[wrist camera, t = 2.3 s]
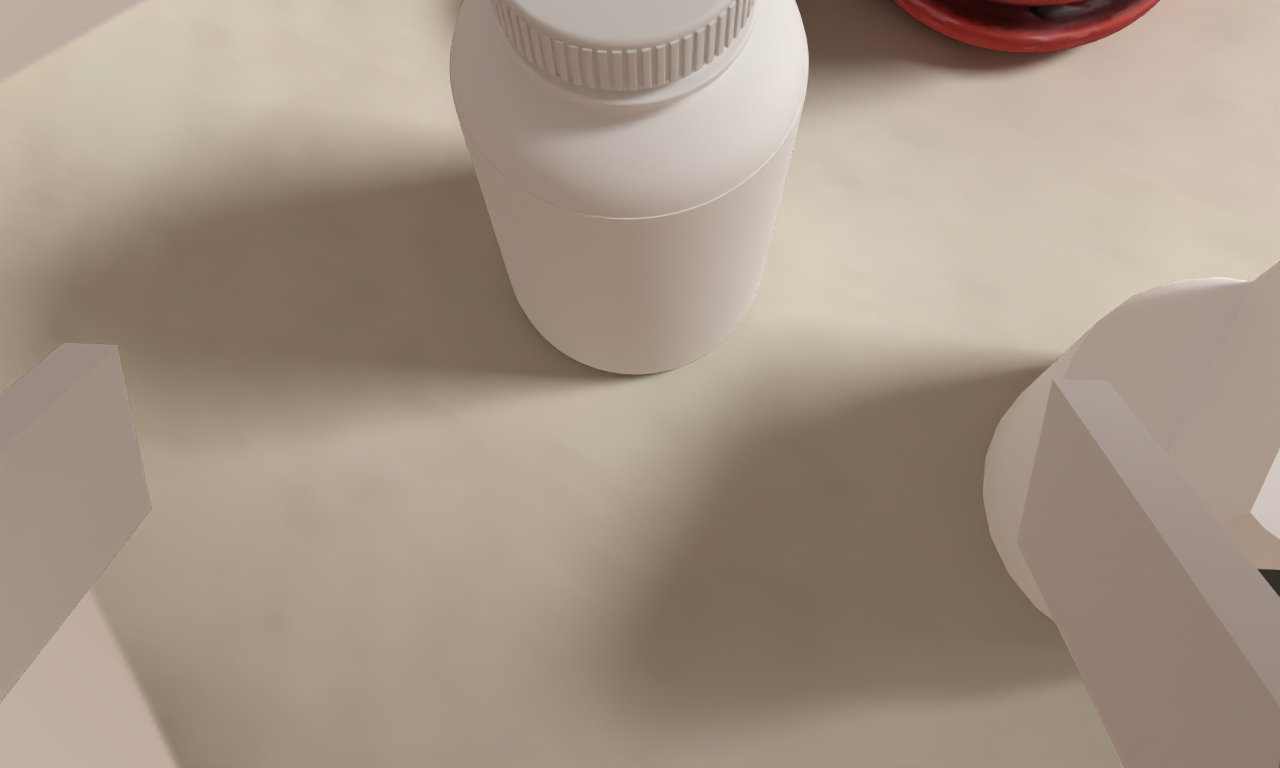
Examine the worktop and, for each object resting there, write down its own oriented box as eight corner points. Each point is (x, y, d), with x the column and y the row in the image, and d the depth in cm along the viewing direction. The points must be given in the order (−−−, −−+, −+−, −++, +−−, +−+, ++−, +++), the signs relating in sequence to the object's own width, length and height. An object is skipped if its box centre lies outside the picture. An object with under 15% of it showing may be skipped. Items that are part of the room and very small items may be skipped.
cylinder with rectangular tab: (1221, 723, 30) (1576, 711, 18) (928, 549, 31) (1090, 440, 20) (1339, 454, 32) (1719, 296, 21) (1062, 304, 34) (1275, 82, 22)
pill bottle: (458, 241, 35) (328, -111, 20) (660, 109, 36) (670, -307, 22) (606, 434, 33) (577, 193, 18) (814, 285, 34) (935, -45, 20)
